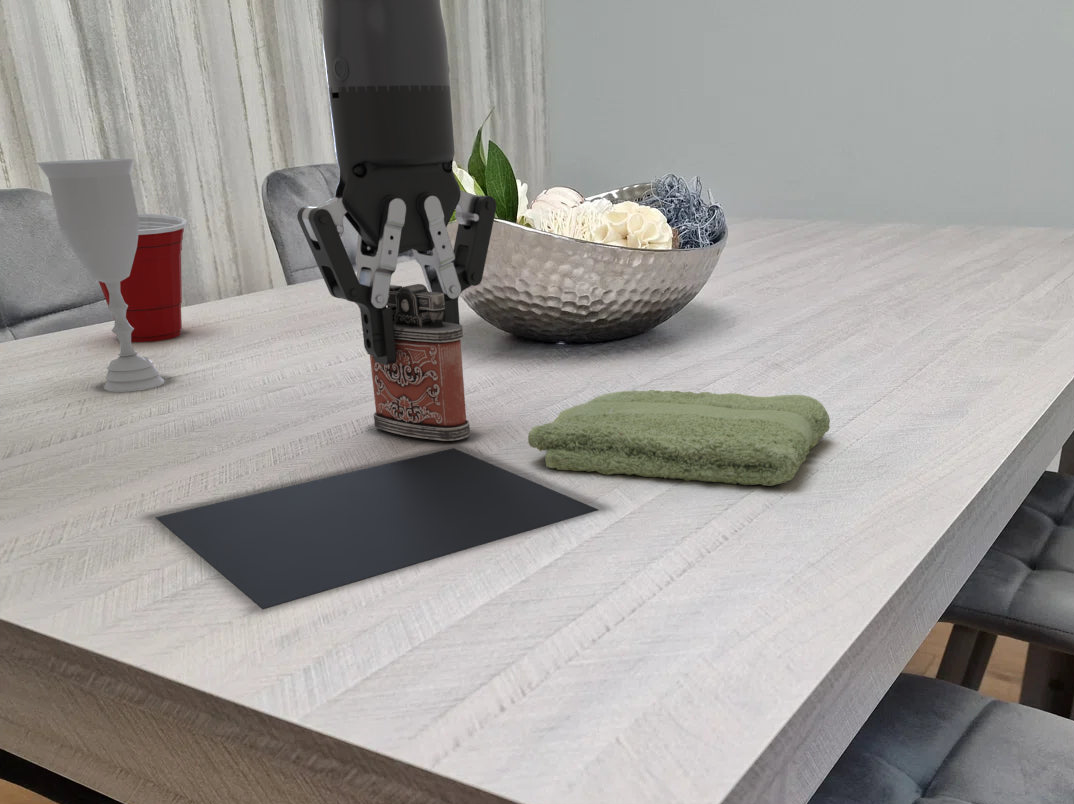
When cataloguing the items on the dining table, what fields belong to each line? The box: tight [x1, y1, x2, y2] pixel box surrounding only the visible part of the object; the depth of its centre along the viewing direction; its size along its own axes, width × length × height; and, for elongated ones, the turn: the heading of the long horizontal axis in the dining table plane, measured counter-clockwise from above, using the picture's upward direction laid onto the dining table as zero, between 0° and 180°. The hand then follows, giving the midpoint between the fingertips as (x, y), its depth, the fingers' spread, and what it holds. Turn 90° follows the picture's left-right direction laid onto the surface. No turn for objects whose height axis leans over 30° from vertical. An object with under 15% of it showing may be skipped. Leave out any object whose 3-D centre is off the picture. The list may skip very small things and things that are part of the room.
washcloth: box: [527, 389, 831, 487], centre depth 69 cm, size 13×18×3 cm
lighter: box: [369, 283, 471, 442], centre depth 72 cm, size 8×3×10 cm, turn 57°
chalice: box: [36, 158, 165, 393], centre depth 86 cm, size 7×7×18 cm
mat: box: [155, 447, 600, 610], centre depth 60 cm, size 20×16×1 cm
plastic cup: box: [98, 213, 188, 343], centre depth 107 cm, size 11×11×12 cm
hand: (414, 356), depth 72 cm, fingers closed on lighter, 4 cm apart
